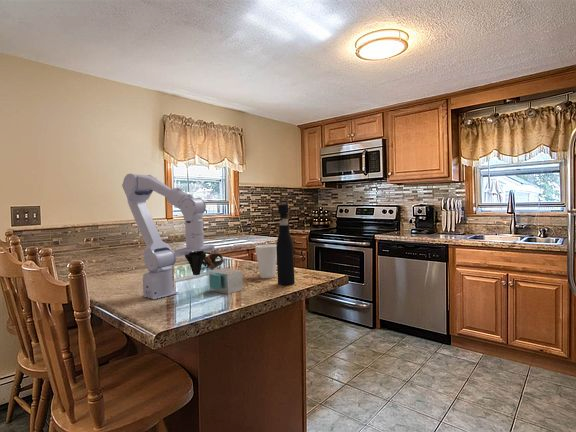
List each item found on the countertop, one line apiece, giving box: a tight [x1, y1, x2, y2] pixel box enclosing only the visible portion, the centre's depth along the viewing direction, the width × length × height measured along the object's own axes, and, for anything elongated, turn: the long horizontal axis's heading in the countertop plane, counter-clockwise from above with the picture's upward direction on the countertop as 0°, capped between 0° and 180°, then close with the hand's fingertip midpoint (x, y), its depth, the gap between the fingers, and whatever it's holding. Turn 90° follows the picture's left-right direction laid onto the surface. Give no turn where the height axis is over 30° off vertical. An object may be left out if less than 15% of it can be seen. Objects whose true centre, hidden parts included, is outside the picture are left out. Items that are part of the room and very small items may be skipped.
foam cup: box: [254, 243, 277, 279], centre depth 145 cm, size 10×9×13 cm
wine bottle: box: [276, 204, 295, 287], centre depth 131 cm, size 6×6×30 cm
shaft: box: [209, 274, 222, 290], centre depth 124 cm, size 9×5×5 cm, turn 141°
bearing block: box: [208, 267, 244, 295], centre depth 125 cm, size 7×10×7 cm
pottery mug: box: [202, 252, 225, 270], centre depth 170 cm, size 12×10×8 cm
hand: (196, 274), depth 115 cm, fingers closed
